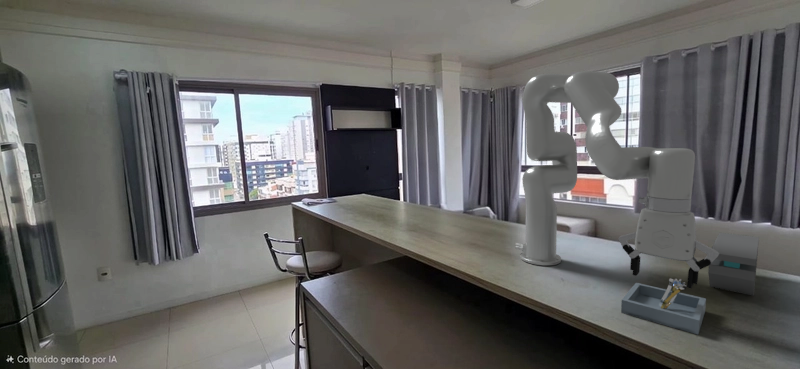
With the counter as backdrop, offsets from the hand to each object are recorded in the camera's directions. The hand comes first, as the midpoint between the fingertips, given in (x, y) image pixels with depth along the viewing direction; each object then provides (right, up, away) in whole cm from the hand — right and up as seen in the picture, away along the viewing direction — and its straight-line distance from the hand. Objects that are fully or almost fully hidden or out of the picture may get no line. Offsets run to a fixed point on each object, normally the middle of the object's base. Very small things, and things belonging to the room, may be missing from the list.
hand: (661, 279), depth 74 cm
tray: (0, -7, 0) cm, 7 cm away
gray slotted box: (+29, -5, +13) cm, 32 cm away
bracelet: (0, -7, 0) cm, 7 cm away
